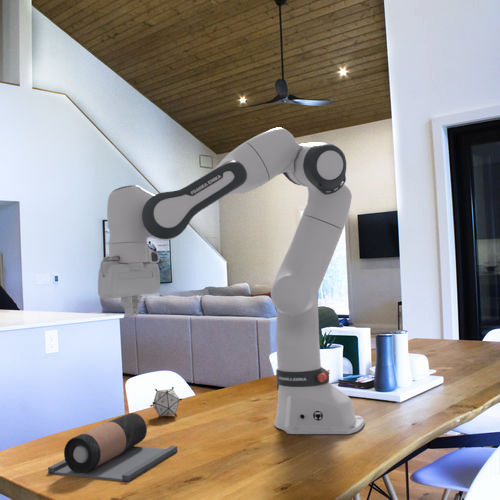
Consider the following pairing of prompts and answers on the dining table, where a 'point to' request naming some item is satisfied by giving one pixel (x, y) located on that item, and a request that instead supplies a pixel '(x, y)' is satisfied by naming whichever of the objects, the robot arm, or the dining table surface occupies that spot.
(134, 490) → the dining table surface
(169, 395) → the game die
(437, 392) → the dining table surface
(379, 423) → the dining table surface
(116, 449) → the travel mug
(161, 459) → the tray
